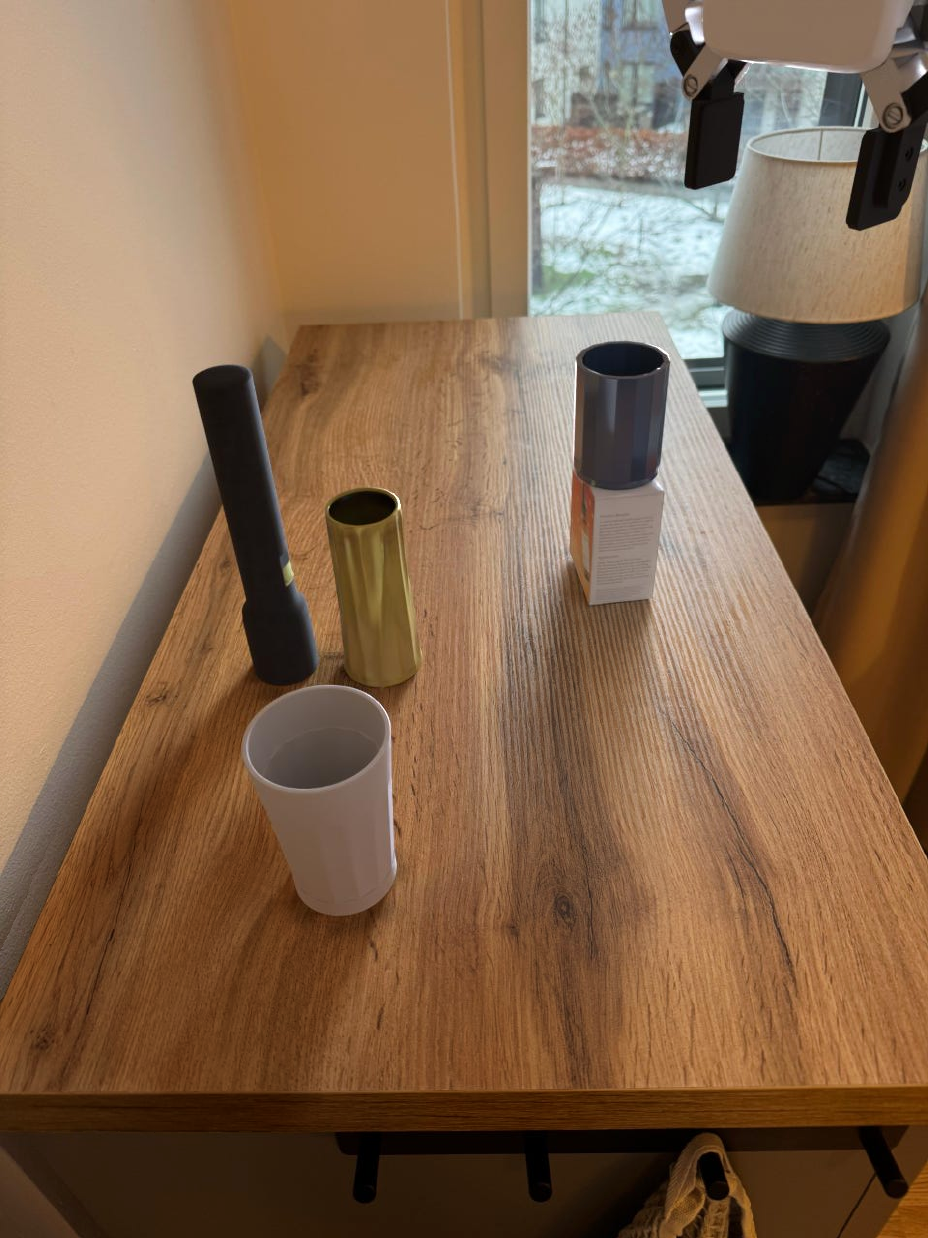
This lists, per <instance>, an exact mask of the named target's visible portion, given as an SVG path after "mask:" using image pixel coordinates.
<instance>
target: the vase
mask: <svg viewBox="0 0 928 1238" xmlns="http://www.w3.org/2000/svg"><path fill="white" fill-rule="evenodd" d="M324 519H325V523H326V524H325V525H326V531H327V539H328V546H329V553H330V558H331V563H332V565H331V566H332V569H333V576H334V583H335V590H336V597H337V603H338V604H337V605H338V611H339V617H340V618H339V620H340V629H341V641H342V646H343V666H344V670H345V672H346V674H347V675H348V676H349V678H350V679H351V680H353V681H354V682H356V683H359V684H360V685H363V686H365V687H369V688H388V687H392V686H396V685H399V684H401V683H402V684H403V683H404V682H406V681H408V680H409V679H410V678H412V677H413V676H414V675H415V674H416V673H418V671H419V670H420V667H421V666H422V663H423V651H422V648H421V643H420V638H419V632H418V624H417V617H416V611H415V605H414V600H413V594H412V586H411V580H410V576H409V575H410V574H409V569H408V561H407V549H406V544H405V542H406V541H405V533H404V523H403V512H402V507H401V503H400V499H399V498H398V496H396V494H395V493H394V492H391V491H389V490H387V489H384V488H380V487H375V486H374V487H373V486H361V487H354V488H351V489H348V490H344V491H342V492H340V493H338V494H336V495H334V496H332V497H331V498H330V499H329V500H328V502H326V504H325V507H324Z"/></svg>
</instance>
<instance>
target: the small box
mask: <svg viewBox="0 0 928 1238" xmlns="http://www.w3.org/2000/svg"><path fill="white" fill-rule="evenodd" d="M571 472H572V473H571V474H572V475H571V494H570V495H571V496H570V520H569V521H570V524H569V525H570V526H569V546H568V547H569V551H568V552H569V554H570V556H571V560H572V561H573V563H574V567H575V569H576V572H577V575H578V577H579V581H580V584H581V587H582V590H583V592H584V595H585V598H586V601H587V604H588V605H589V606H597V605H604V604H614V603H623V602H632V601H633V602H634V601H643V600H651V599H653V597H654V592H655V591H654V590H655V582H656V572H657V564H658V554H659V546H660V538H661V528H662V519H663V512H664V504H665V503H664V501H665V494H666V493H665V491H664V490H663V487H662V486H661V485H660V483H659V481H658V479H657V477H656V478H655V479H654V480H652V481H651V482H650V483H648V484H646V485H643V486H641V487H637V488H633V489H626V490H610V489H602V488H598V487H594V486H592V485H589V484H587V483H585V482H583V481H582V480H580V479H579V478H578V477H577V476H576V475H575V473H574V470H573V469H572V471H571Z"/></svg>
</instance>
